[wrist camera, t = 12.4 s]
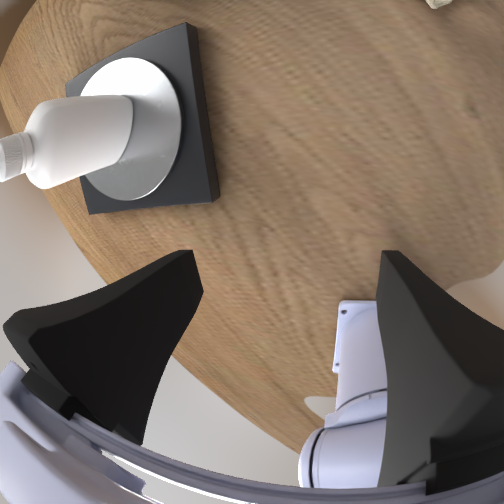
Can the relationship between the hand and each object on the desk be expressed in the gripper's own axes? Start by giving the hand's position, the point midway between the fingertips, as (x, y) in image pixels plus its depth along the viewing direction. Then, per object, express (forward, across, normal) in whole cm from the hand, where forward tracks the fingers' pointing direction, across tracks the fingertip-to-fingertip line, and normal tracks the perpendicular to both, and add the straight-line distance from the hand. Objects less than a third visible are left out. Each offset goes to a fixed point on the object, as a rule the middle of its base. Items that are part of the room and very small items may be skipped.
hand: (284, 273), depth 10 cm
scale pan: (+9, +13, -7) cm, 18 cm away
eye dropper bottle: (+9, +14, -7) cm, 18 cm away
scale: (+11, +14, -7) cm, 19 cm away
